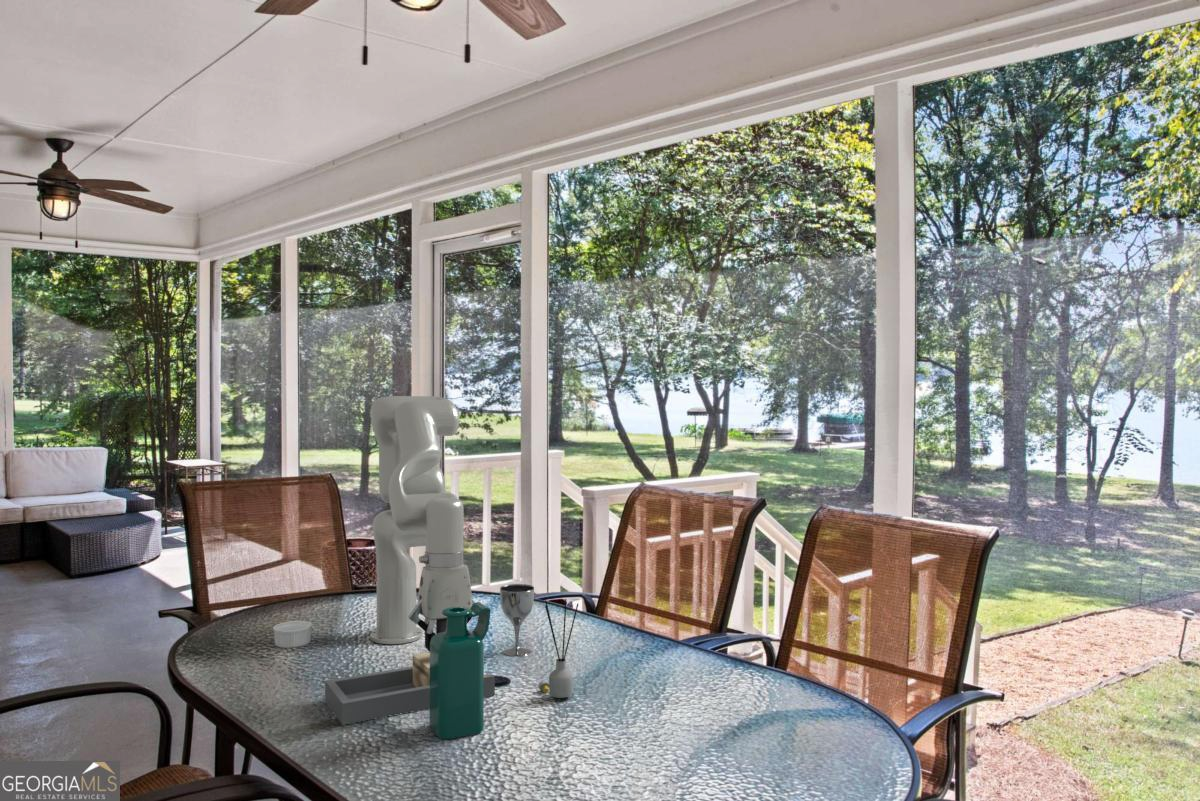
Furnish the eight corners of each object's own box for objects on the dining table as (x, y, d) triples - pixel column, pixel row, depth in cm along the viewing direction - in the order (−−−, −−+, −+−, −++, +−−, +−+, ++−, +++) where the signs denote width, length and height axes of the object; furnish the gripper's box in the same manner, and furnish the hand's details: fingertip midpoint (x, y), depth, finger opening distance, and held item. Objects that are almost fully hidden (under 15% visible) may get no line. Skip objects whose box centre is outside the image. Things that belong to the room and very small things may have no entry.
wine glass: (536, 647, 203) (536, 584, 203) (530, 657, 195) (530, 592, 195) (503, 646, 204) (503, 583, 203) (496, 656, 196) (496, 591, 196)
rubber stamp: (412, 683, 174) (412, 615, 174) (458, 675, 179) (459, 609, 179) (428, 698, 166) (428, 627, 166) (476, 689, 171) (476, 620, 171)
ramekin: (304, 649, 201) (304, 630, 201) (266, 648, 201) (266, 630, 201) (317, 638, 210) (317, 620, 210) (281, 638, 210) (281, 620, 210)
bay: (325, 701, 167) (325, 679, 167) (468, 675, 183) (468, 656, 182) (342, 725, 155) (342, 702, 155) (494, 696, 170) (494, 675, 170)
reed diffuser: (586, 698, 169) (586, 598, 169) (565, 709, 164) (565, 605, 164) (546, 687, 175) (546, 591, 175) (524, 697, 170) (524, 597, 169)
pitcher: (440, 742, 148) (440, 616, 148) (426, 725, 156) (427, 605, 155) (493, 732, 153) (494, 609, 152) (478, 716, 160) (478, 599, 160)
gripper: (409, 567, 165) (409, 661, 165) (491, 558, 173) (490, 648, 173) (397, 560, 171) (397, 650, 171) (476, 552, 180) (476, 638, 180)
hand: (444, 648), depth 172 cm, fingers open, 5 cm apart
